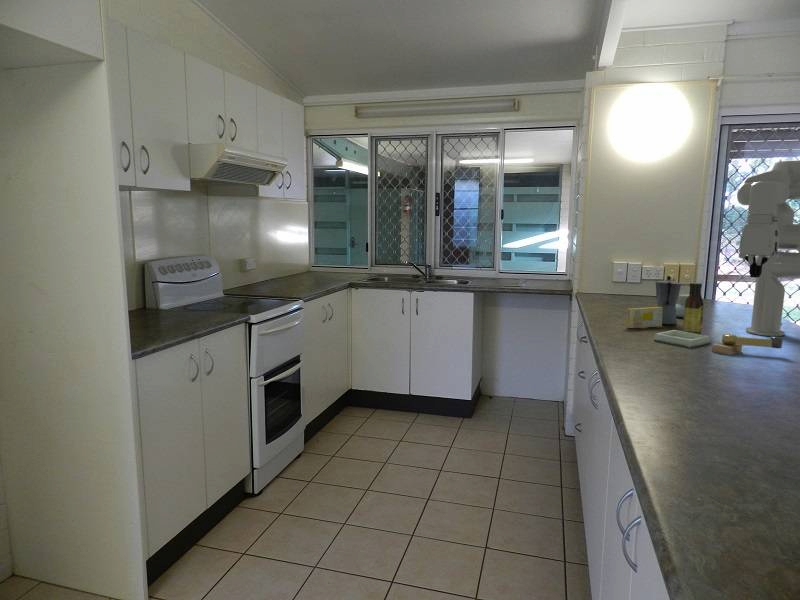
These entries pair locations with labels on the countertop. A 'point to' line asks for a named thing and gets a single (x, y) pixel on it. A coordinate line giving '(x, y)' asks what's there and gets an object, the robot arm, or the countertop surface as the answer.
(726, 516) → the countertop surface
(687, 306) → the sauce bottle
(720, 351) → the orange brown block
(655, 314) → the candy box
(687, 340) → the tray
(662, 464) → the countertop surface
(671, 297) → the moka pot
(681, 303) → the air freshener
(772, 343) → the lever
